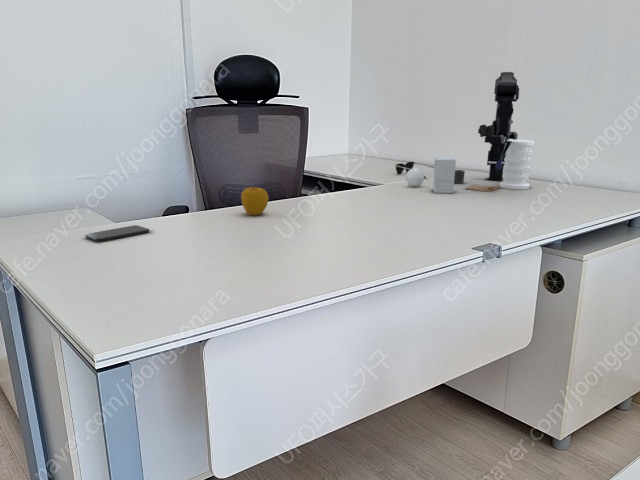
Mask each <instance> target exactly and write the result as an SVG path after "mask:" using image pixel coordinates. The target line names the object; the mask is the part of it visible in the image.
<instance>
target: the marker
mask: <svg viewBox="0 0 640 480" xmlns="http://www.w3.org/2000/svg"><path fill="white" fill-rule="evenodd" d="M502 155H503V154H502ZM495 163H496V169H501V164H502V163H503V162H502V157H501V159H500V161H496V162H495Z"/></svg>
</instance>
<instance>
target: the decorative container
mask: <svg viewBox="0 0 640 480" xmlns="http://www.w3.org/2000/svg"><path fill="white" fill-rule="evenodd" d="M509 141H513V142H512V143H511V145H510V146H509V148H508V150H507V152H506V157H505V158H504V161H505V162H504V163H505V165H504V167H503V168H504V169H503V180H502V181H499V188H502V189H506V190H507V189H508V190H529V189H530V187H531V183H528V182H529V178H530V171H531V166H530V164H531V162H532V157H531V156H532V153H533V149H532V148H533V146H534V145H535V141H534V140H531V139H530V140H529V139H516V140H513V139H509Z"/></svg>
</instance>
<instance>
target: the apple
mask: <svg viewBox="0 0 640 480" xmlns="http://www.w3.org/2000/svg"><path fill="white" fill-rule="evenodd" d="M240 197H241V198H240V199H241V204H242V207H243V209H244V211H245V212H246V213H247V215H249V216H254V217H255V216H260V215H262V214H263V213H264V211H265V210H266V208H267V206H268V204H269V199H270V197H269V194H268V192H267V191H266V189H264V188H262V187H255V186H252V187H251V186H249V187H246V188H244V189H243V190H242V191H241V194H240Z"/></svg>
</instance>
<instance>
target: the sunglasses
mask: <svg viewBox="0 0 640 480" xmlns="http://www.w3.org/2000/svg"><path fill="white" fill-rule="evenodd" d="M414 164H415V165H419V166H424V167H428V168H432V169H434V166H431V165H427V164H422V163H418V162H415V161H408V162H406V163H396V164H395V165H394V166H395V171H396V174H397V175H402V174H403V172H404V171H405V172H406V174H407V173H408V171H409V170H410V169H413V168H414ZM425 179H427V177H426V176H425V175H424V180H425Z"/></svg>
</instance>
